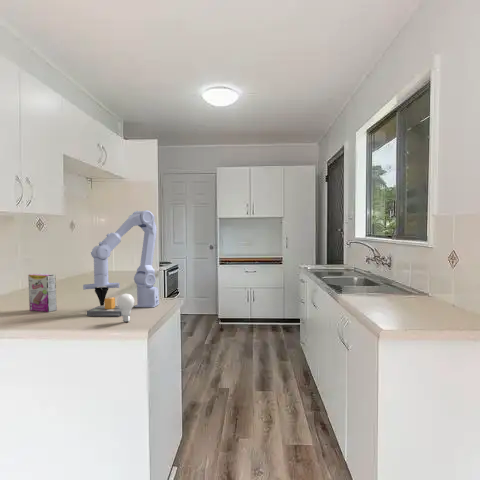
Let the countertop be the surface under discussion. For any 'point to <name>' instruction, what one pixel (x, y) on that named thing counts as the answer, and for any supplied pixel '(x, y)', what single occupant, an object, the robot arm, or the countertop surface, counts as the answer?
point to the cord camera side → (105, 315)
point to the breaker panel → (104, 310)
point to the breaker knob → (109, 303)
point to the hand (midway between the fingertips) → (102, 305)
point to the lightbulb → (126, 305)
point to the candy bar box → (42, 292)
